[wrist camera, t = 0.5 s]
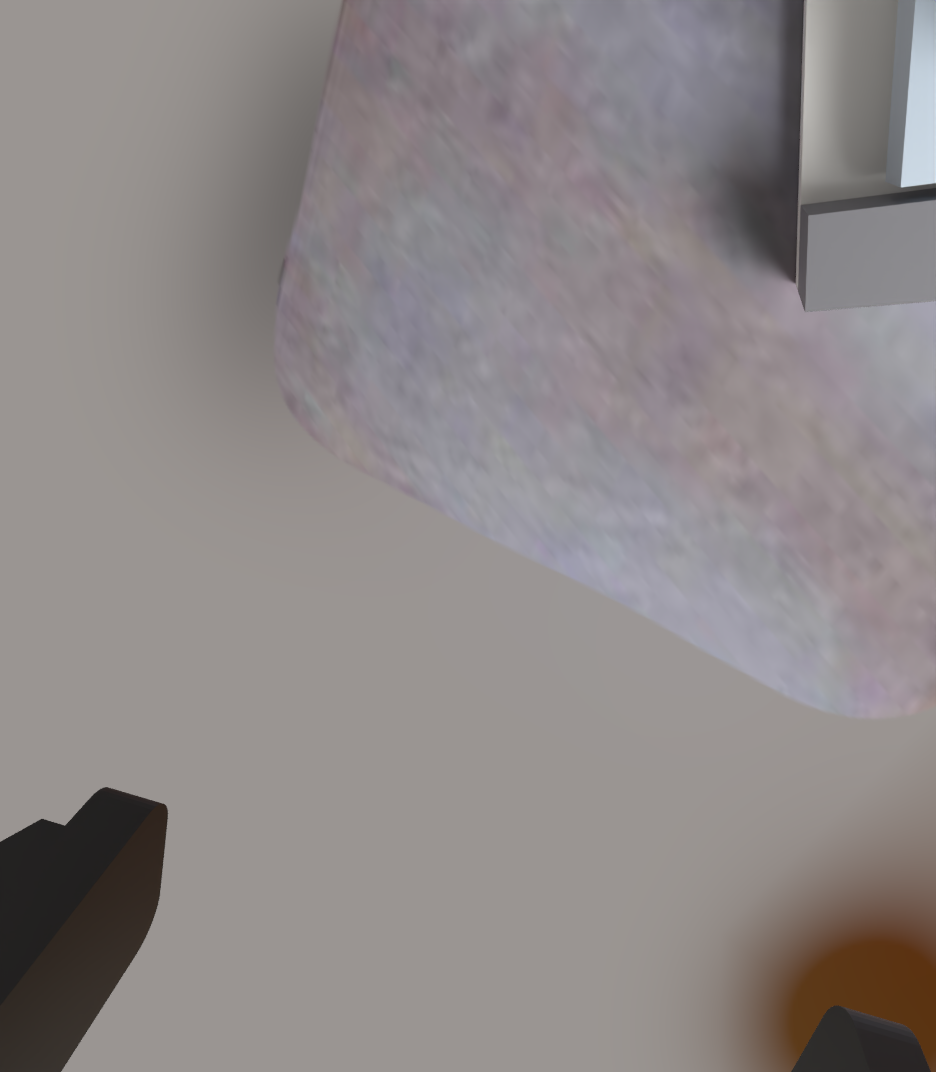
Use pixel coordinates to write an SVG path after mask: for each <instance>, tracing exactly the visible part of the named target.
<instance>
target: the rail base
mask: <svg viewBox="0 0 936 1072" xmlns="http://www.w3.org/2000/svg"><path fill="white" fill-rule="evenodd" d="M897 10H898V0H804V17H803V51H802V85H801V119H800V153H799V188H798V222H797V256H796V287H797V290H798V292H799V295H800V298H801V301H802V304H803V307H804V310H805V312H813V311H825V310H837V309H848V308H860V307H872V306H884V305H896V304H908V303H919V302H931V301H936V183H932V184H925V185H917V186H909V187H898V186H895V185H893V184H890V183H887V182H885V178H886V164H887V150H888V136H889V122H890V108H891V94H892V80H893V66H894V52H895V38H896V24H897Z"/></svg>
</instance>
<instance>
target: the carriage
mask: <svg viewBox="0 0 936 1072" xmlns="http://www.w3.org/2000/svg"><path fill="white" fill-rule="evenodd" d="M885 182H887V183H890V184H893V185H895V186H898V187H909V186H917V185H925V184H932V183H936V0H898V10H897V24H896V38H895V52H894V66H893V80H892V94H891V108H890V122H889V136H888V150H887V164H886V178H885Z"/></svg>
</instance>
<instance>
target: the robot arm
mask: <svg viewBox="0 0 936 1072" xmlns="http://www.w3.org/2000/svg"><path fill="white" fill-rule="evenodd" d="M167 819H168V810H167V807H166V805H165V804H162V803H159V802H155V801H152V800H148V799H145V798H142V797H138V796H135V795H131V794H128V793H125V792H122V791H118V790H115V789H111V788H108V787H105V788H102V789H100V790H99V791H97V792H96V793H95V794H94V795H93V796H92V797H91V798H90V799H89V800H88V801H87V802H86V803H85V805H83V807H82V808H81V809H80V810H79V811H78V812H77V813H76V814H75V815H74V817H73V818H72V819H71V820H70V821H69V822H68V823H67V824H66V825H65V826H64V825H61V824H57V823H54V822H51V821H47V820H44V819H41V820H39V821H37V822H36V823H33V824H32V825H30V826H28V827H26V828H25V829H23V830H21V831H19V832H18V833H15V834H14V835H12V836H10V837H8V838H6V839H5V840H3V841H1V842H0V1072H61V1071H62V1069H63V1068H64V1066H65V1064H66V1063H67V1062H68V1060H69V1058H70V1057H71V1055H72V1054H73V1052H74V1051H75V1049H76V1048H77V1046H78V1044H79V1043H80V1041H81V1040H82V1038H83V1036H84V1035H85V1033H86V1032H87V1030H88V1029H89V1027H90V1026H91V1024H92V1022H93V1021H94V1019H95V1018H96V1016H97V1015H98V1013H99V1012H100V1010H101V1008H102V1007H103V1005H104V1004H105V1002H106V1001H107V999H108V998H109V996H110V994H111V993H112V991H113V990H114V988H115V986H116V985H117V983H118V982H119V980H120V979H121V977H122V976H123V974H124V973H125V971H126V969H127V968H128V966H129V965H130V963H131V962H132V960H133V958H134V957H135V955H136V954H137V952H138V950H139V949H140V947H141V945H142V943H143V941H144V939H145V937H146V935H147V933H148V931H149V928H150V926H151V924H152V921H153V918H154V915H155V912H156V909H157V906H158V901H159V896H160V888H161V878H162V868H163V858H164V849H165V839H166V829H167ZM792 1072H931V1071H930V1069H929V1066H928V1064H927V1062H926V1059H925V1056H924V1054H923V1051H922V1049H921V1046H920V1044H919V1042H918V1040H917V1038H916V1037H915V1035H914V1034H913V1032H912V1031H911V1030H910V1029H909V1028H908V1027H906V1026H905V1025H902V1024H898V1023H895V1022H892V1021H888V1020H885V1019H881V1018H878V1017H875V1016H871V1015H868V1014H865V1013H861V1012H858V1011H855V1010H851V1009H848V1008H844V1007H841V1006H833V1007H831V1008H830V1009H829V1010H828V1011H827V1012H826V1013H825V1015H824V1016H823V1018H822V1020H821V1021H820V1023H819V1025H818V1026H817V1028H816V1030H815V1032H814V1033H813V1035H812V1037H811V1039H810V1040H809V1042H808V1044H807V1046H806V1047H805V1049H804V1051H803V1053H802V1054H801V1056H800V1058H799V1060H798V1061H797V1063H796V1065H795V1066H794V1068H793V1070H792Z"/></svg>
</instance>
